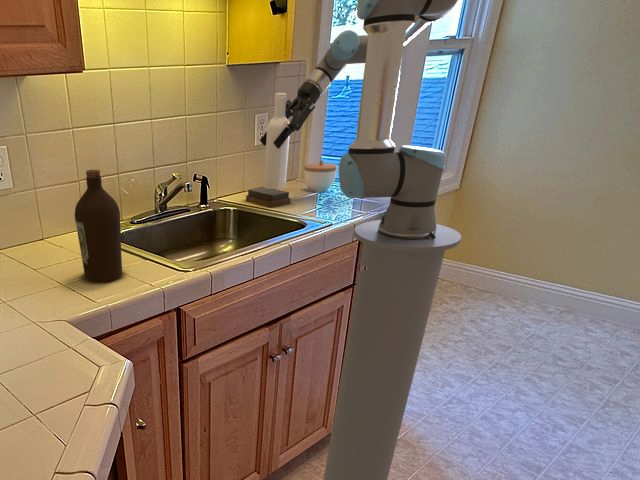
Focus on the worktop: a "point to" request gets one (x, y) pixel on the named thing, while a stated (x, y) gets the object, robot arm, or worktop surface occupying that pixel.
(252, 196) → the sharpening stone
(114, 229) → the olive oil
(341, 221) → the worktop surface
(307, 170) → the lidded bowl
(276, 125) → the bottle
